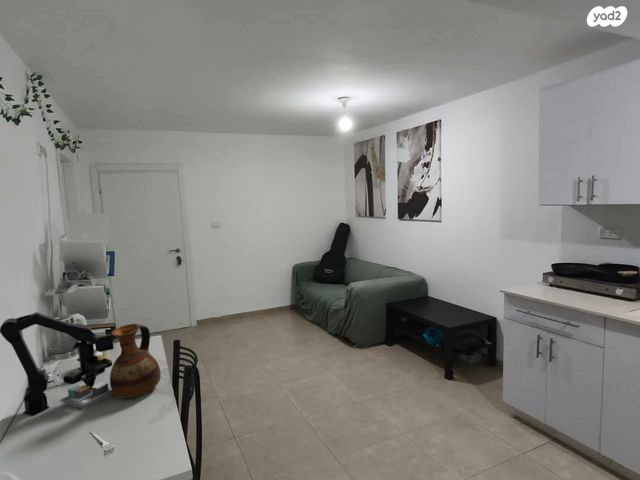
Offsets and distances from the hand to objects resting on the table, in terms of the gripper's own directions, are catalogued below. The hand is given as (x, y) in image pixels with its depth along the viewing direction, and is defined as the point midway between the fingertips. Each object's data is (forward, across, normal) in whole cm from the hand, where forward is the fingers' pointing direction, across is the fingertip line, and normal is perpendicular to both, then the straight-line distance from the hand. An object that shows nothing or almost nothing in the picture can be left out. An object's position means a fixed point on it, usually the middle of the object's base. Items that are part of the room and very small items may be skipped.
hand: (91, 389), depth 166 cm
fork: (+3, -22, -34) cm, 41 cm away
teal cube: (+3, -2, +7) cm, 8 cm away
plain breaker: (+1, 0, -5) cm, 5 cm away
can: (+3, +25, +27) cm, 37 cm away
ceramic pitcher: (+3, +9, -16) cm, 19 cm away
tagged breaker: (+1, -4, 0) cm, 4 cm away
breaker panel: (+3, -3, -2) cm, 4 cm away
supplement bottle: (+3, +17, +19) cm, 26 cm away
